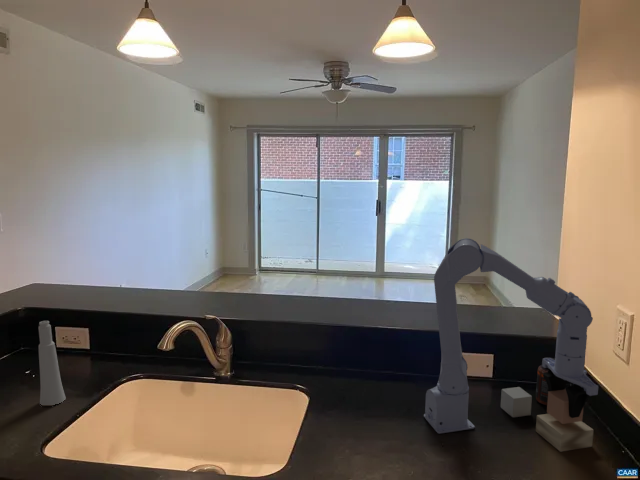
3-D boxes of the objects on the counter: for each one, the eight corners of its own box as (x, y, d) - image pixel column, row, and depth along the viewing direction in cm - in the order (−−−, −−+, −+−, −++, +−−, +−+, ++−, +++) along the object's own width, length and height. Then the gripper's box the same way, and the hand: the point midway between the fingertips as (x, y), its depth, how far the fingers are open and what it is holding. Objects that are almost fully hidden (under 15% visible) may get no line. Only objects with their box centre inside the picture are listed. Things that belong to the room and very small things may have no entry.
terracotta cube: (562, 423, 102) (564, 402, 101) (546, 412, 107) (548, 391, 106) (582, 420, 103) (584, 399, 102) (565, 409, 108) (567, 389, 107)
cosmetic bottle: (63, 404, 123) (55, 324, 119) (37, 409, 121) (27, 327, 117) (67, 394, 128) (59, 316, 125) (42, 398, 126) (33, 319, 123)
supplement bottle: (564, 408, 119) (567, 366, 117) (538, 406, 120) (541, 364, 118) (557, 397, 124) (560, 356, 123) (533, 395, 126) (536, 354, 124)
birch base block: (560, 451, 101) (561, 434, 101) (535, 431, 109) (536, 415, 108) (591, 446, 103) (593, 429, 102) (565, 426, 111) (566, 410, 110)
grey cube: (512, 417, 115) (513, 398, 114) (500, 407, 120) (501, 389, 119) (530, 415, 116) (531, 396, 115) (517, 405, 121) (519, 386, 120)
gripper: (613, 364, 96) (606, 425, 99) (562, 338, 110) (557, 392, 113) (583, 368, 95) (578, 429, 97) (535, 341, 109) (532, 396, 111)
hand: (565, 410), depth 105 cm, fingers closed on terracotta cube, 5 cm apart
